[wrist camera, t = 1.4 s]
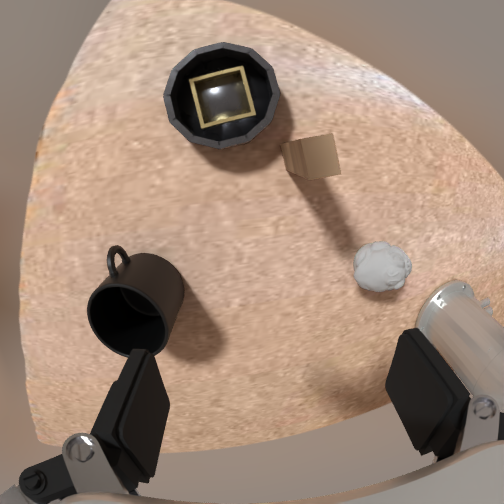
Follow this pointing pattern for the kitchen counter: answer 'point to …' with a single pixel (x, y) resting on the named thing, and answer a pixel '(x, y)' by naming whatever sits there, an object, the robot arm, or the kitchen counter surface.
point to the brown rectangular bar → (312, 157)
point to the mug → (136, 303)
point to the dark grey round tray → (221, 95)
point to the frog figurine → (381, 267)
